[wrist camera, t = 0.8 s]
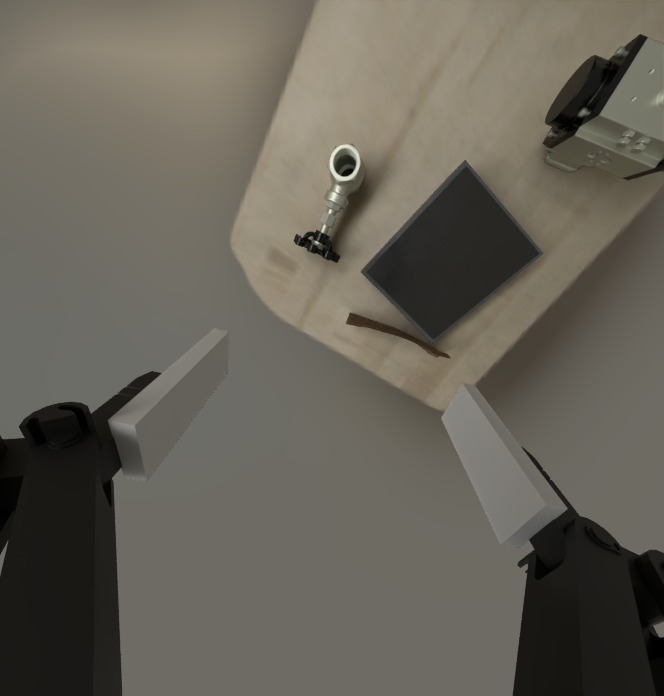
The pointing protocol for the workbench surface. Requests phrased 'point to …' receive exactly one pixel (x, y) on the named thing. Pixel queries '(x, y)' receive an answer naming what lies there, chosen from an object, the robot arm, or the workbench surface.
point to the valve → (335, 198)
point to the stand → (451, 254)
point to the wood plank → (391, 332)
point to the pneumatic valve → (612, 113)
